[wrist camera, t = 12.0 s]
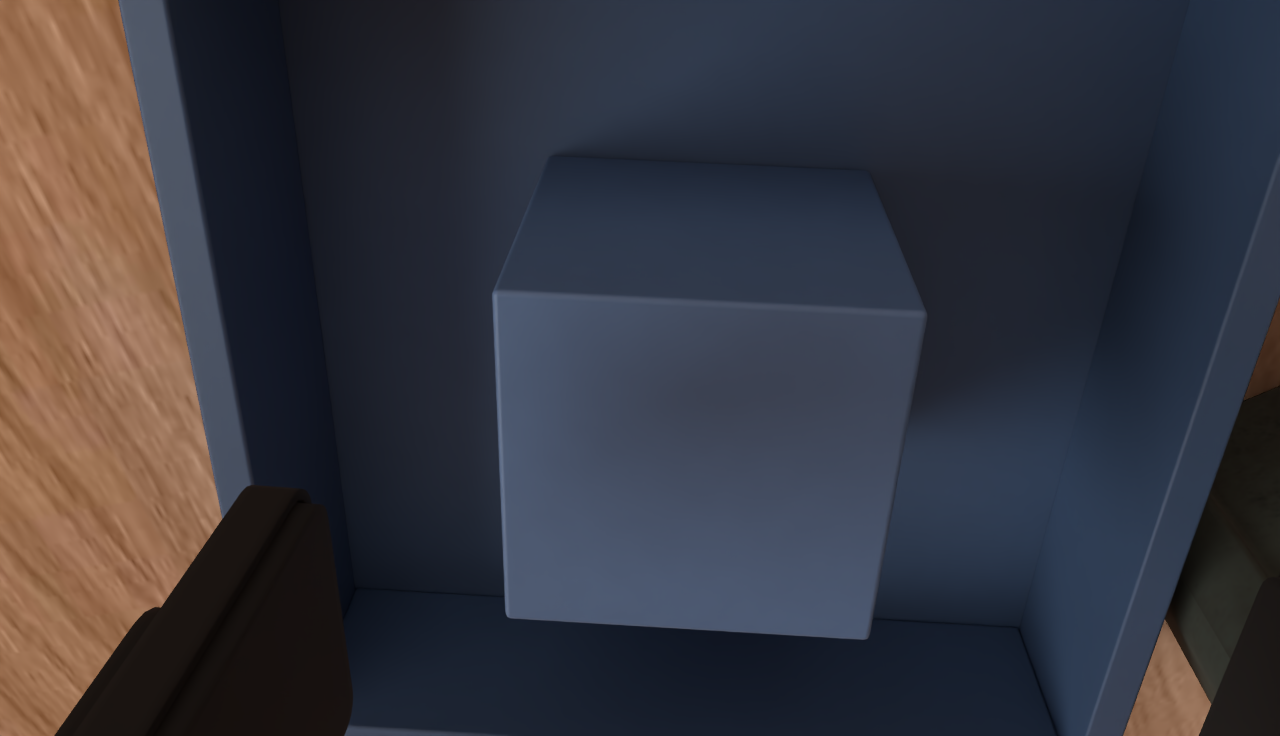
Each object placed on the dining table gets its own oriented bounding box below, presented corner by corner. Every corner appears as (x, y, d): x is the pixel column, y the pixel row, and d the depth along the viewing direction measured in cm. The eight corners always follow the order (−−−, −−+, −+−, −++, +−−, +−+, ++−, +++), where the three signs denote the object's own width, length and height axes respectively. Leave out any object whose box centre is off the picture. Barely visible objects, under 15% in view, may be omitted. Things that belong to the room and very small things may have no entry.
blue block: (870, 169, 16) (930, 313, 12) (831, 441, 19) (870, 642, 14) (546, 154, 17) (490, 291, 12) (550, 426, 19) (503, 620, 15)
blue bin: (1258, -154, 14) (1435, -130, 11) (1036, 633, 21) (1101, 801, 18) (226, -191, 15) (79, -180, 11) (336, 591, 22) (266, 746, 18)
